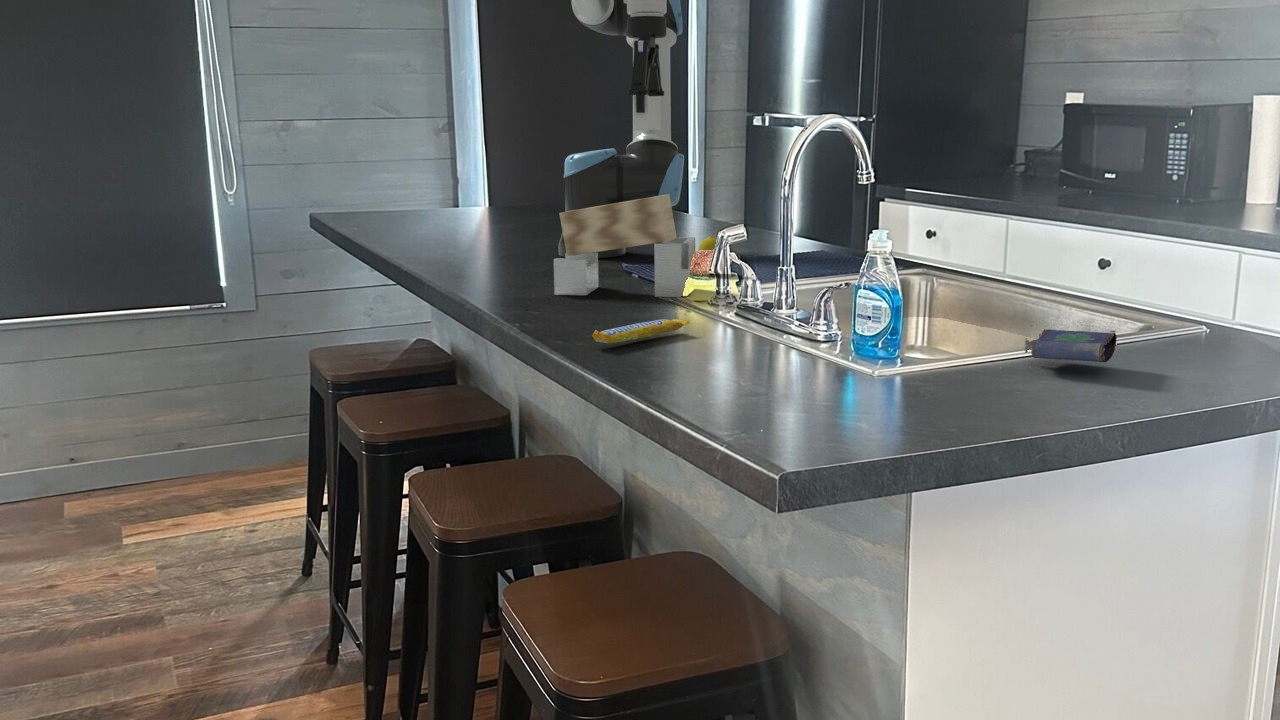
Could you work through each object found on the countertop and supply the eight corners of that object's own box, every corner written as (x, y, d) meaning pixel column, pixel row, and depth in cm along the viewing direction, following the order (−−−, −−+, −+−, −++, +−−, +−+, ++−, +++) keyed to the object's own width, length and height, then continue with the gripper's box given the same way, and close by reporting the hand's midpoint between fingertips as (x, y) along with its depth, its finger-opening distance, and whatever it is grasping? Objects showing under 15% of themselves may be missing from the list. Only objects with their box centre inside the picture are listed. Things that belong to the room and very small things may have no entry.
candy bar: (606, 346, 158) (605, 333, 158) (587, 342, 162) (587, 329, 161) (691, 330, 169) (691, 318, 169) (672, 326, 172) (672, 315, 172)
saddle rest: (567, 286, 210) (566, 252, 209) (598, 286, 209) (597, 252, 208) (554, 294, 201) (553, 259, 199) (586, 295, 200) (585, 259, 198)
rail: (567, 256, 203) (559, 213, 202) (578, 253, 208) (571, 210, 206) (666, 241, 195) (659, 196, 194) (676, 238, 199) (669, 194, 198)
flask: (1104, 345, 137) (1016, 341, 143) (1104, 368, 138) (1016, 363, 143) (1116, 329, 145) (1032, 326, 150) (1116, 351, 145) (1032, 347, 151)
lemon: (725, 273, 224) (725, 234, 223) (724, 277, 219) (724, 237, 217) (698, 273, 225) (698, 234, 223) (696, 277, 220) (696, 237, 218)
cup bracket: (663, 287, 207) (663, 237, 205) (695, 288, 206) (695, 237, 204) (654, 296, 197) (654, 243, 195) (688, 297, 196) (687, 243, 194)
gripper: (638, 21, 222) (640, 129, 227) (613, 11, 198) (615, 131, 203) (675, 20, 221) (676, 129, 225) (655, 9, 197) (656, 131, 201)
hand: (647, 130), depth 214 cm, fingers open, 13 cm apart
